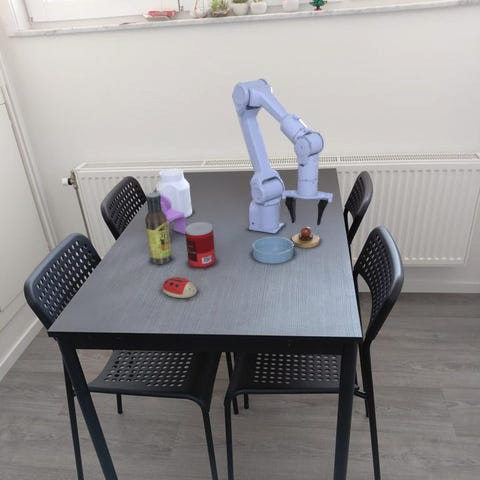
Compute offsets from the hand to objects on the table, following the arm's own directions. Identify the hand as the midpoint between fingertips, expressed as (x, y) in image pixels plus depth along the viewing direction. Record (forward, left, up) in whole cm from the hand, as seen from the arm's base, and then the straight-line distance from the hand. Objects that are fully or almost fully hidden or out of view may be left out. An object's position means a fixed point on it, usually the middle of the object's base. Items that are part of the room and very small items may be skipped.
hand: (306, 222), depth 145 cm
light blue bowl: (-6, -12, -6) cm, 14 cm away
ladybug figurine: (-20, -41, -6) cm, 46 cm away
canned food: (-23, -24, -6) cm, 34 cm away
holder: (0, 0, -6) cm, 6 cm away
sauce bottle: (-35, -27, -6) cm, 45 cm away
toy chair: (-42, -11, -6) cm, 44 cm away
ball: (0, 0, -3) cm, 3 cm away
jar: (-51, +6, -6) cm, 52 cm away
